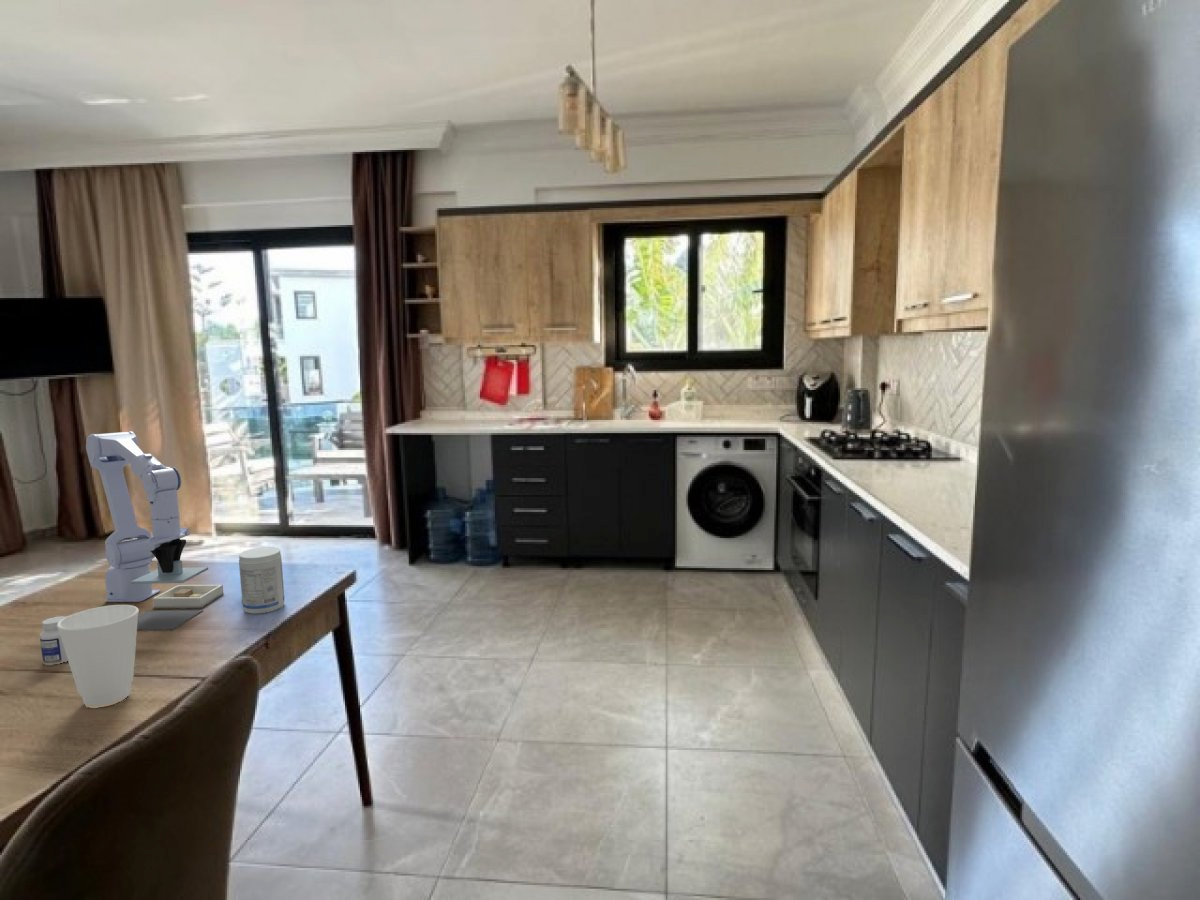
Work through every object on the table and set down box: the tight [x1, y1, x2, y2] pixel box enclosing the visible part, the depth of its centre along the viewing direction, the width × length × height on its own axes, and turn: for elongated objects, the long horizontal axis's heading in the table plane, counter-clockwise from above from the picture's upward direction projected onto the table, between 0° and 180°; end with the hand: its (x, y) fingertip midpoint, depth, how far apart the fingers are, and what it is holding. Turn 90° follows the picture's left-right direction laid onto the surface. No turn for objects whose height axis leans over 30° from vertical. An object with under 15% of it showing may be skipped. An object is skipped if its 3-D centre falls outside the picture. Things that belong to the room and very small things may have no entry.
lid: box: [131, 560, 209, 585], centre depth 161 cm, size 12×10×4 cm
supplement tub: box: [238, 546, 286, 615], centre depth 163 cm, size 10×10×15 cm
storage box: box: [152, 584, 224, 609], centre depth 169 cm, size 12×10×3 cm
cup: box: [57, 604, 140, 706], centre depth 119 cm, size 12×12×16 cm
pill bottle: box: [39, 615, 68, 666], centre depth 135 cm, size 5×5×9 cm
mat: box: [137, 609, 204, 631], centre depth 156 cm, size 14×12×1 cm
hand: (170, 570), depth 161 cm, fingers closed on lid, 2 cm apart
